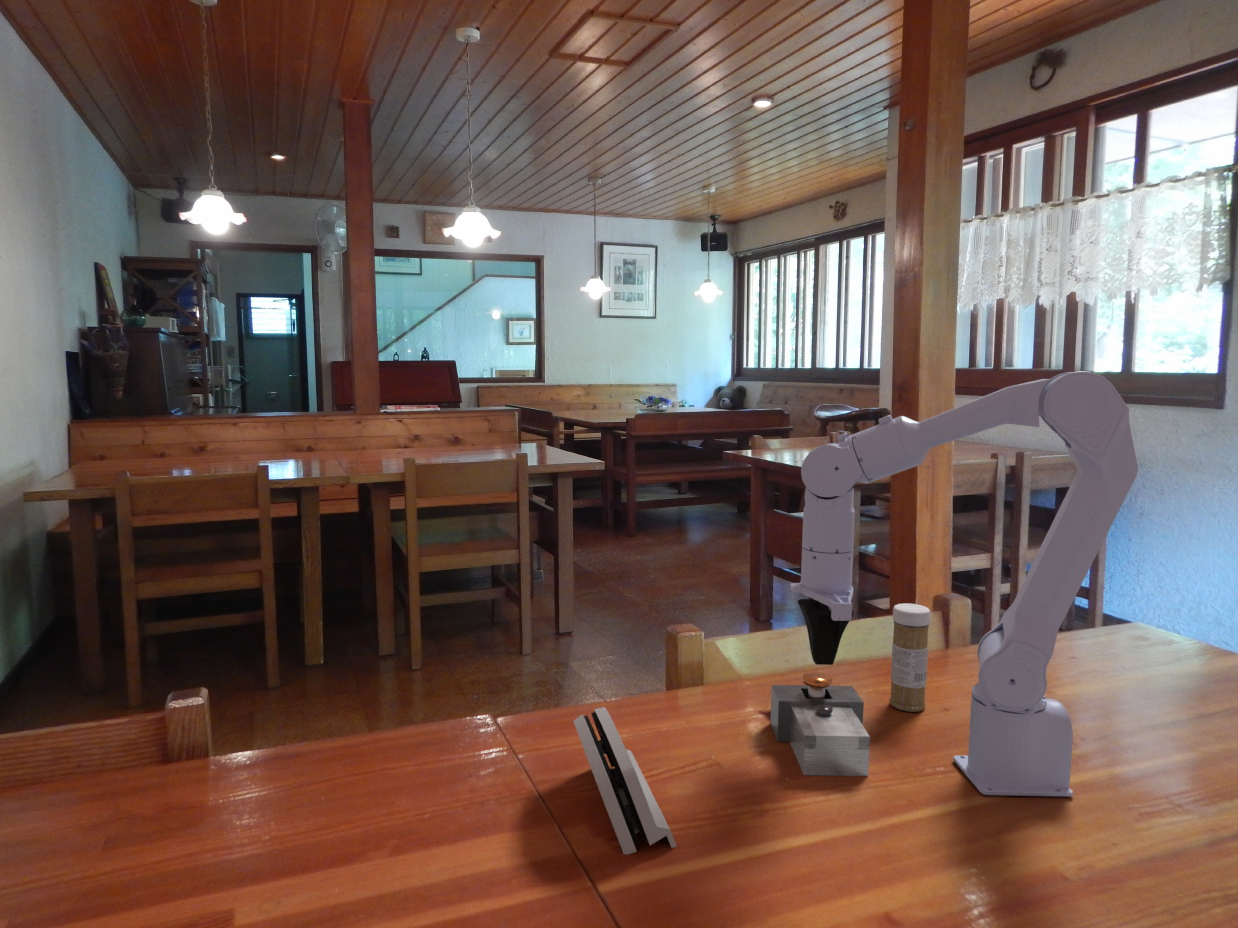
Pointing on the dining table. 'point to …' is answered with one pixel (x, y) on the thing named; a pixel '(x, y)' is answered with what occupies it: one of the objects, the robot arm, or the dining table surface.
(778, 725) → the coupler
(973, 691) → the robot arm
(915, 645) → the sprinkles bottle
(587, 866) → the dining table surface
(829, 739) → the block
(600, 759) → the grey slotted block
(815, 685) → the pin
